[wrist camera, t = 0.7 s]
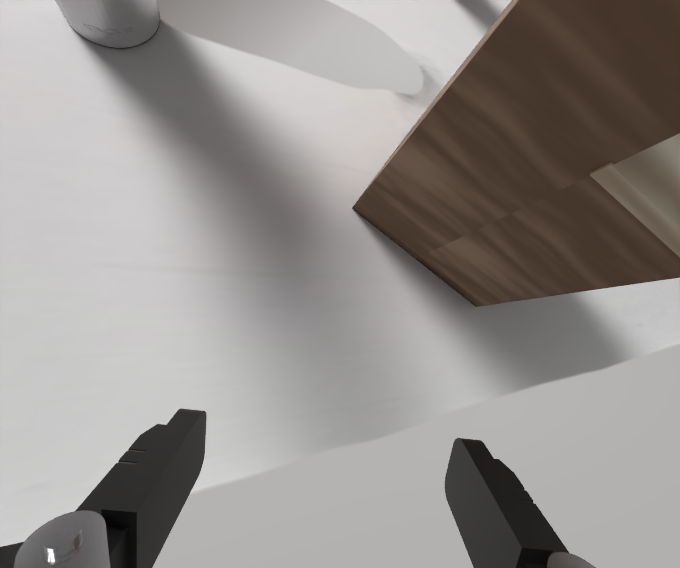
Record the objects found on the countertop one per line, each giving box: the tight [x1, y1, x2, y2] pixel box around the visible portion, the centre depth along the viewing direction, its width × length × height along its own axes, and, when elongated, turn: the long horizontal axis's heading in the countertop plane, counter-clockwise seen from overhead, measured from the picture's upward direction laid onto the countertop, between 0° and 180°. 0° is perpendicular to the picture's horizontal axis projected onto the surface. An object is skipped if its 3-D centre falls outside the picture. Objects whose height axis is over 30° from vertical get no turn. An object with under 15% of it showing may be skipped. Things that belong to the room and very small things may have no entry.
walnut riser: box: [353, 0, 680, 307], centre depth 27 cm, size 14×20×32 cm
